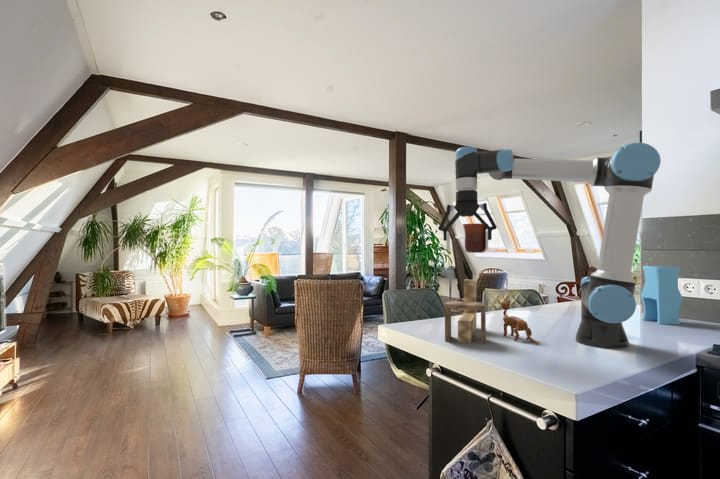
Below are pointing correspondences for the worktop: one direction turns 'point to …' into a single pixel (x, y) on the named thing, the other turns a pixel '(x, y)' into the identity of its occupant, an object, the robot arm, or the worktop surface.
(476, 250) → the mug
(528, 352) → the worktop surface
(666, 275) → the blue arched block
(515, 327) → the orange brown animal figurine
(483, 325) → the brown wooden frame
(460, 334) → the wooden stepped block
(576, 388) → the worktop surface
